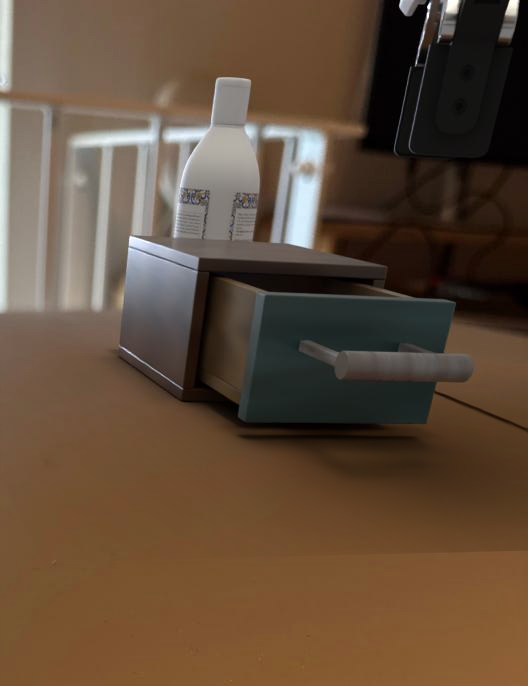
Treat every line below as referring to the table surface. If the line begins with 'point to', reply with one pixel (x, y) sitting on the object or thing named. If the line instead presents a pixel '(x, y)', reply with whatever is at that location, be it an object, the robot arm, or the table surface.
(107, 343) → the table surface
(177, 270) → the cabinet
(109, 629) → the table surface
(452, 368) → the teal drawer
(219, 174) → the bath foam
